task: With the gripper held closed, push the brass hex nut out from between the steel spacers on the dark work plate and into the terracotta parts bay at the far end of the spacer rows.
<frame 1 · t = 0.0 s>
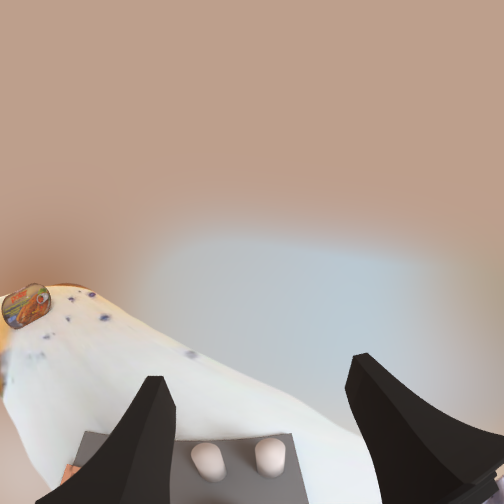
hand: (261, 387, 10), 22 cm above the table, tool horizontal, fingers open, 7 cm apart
tin: (31, 320, 52), on the table
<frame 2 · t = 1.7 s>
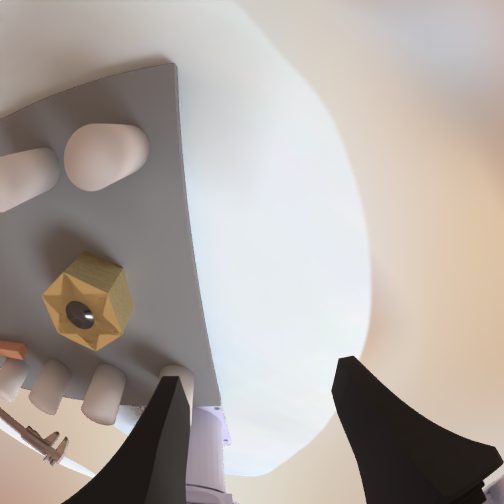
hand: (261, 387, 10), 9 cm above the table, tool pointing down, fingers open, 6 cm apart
brass nut: (96, 289, 17), point 1 cm above the table, touching work plate
work plate: (41, 285, 17), on the table
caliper: (15, 409, 25), on the table
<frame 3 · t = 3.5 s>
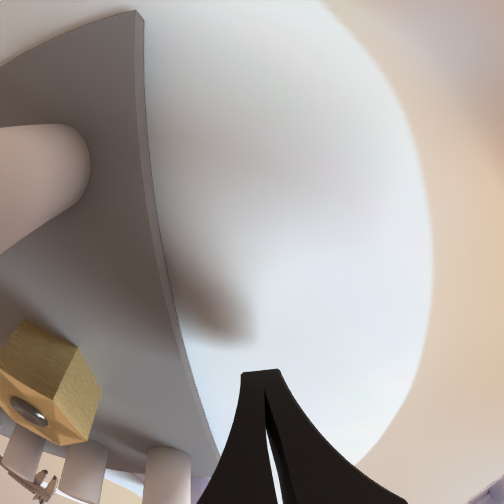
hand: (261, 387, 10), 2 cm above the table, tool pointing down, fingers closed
brass nut: (50, 366, 10), point 1 cm above the table, touching work plate
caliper: (0, 444, 19), on the table
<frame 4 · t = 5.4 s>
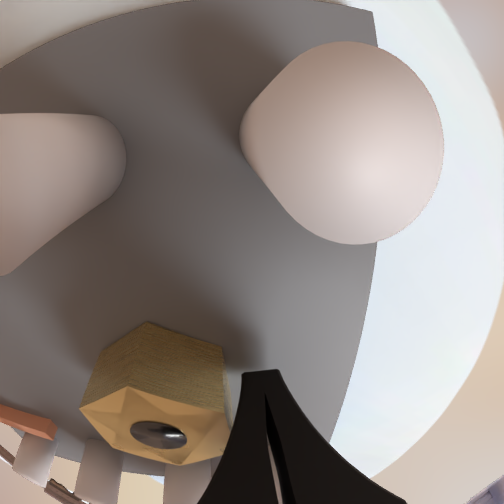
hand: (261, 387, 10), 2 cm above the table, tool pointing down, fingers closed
brass nut: (166, 375, 10), point 1 cm above the table, touching gripper
work plate: (76, 355, 11), on the table
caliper: (32, 458, 19), on the table
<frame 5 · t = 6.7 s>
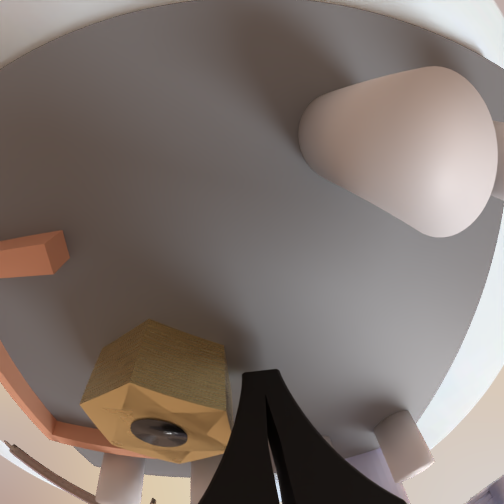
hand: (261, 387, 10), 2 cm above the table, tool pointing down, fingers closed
brass nut: (167, 373, 10), point 1 cm above the table, touching gripper, work plate
work plate: (229, 354, 12), on the table
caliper: (75, 472, 20), on the table
parts bay: (63, 354, 11), resting on work plate
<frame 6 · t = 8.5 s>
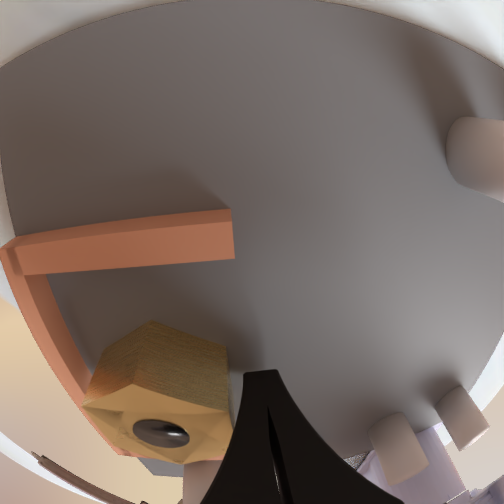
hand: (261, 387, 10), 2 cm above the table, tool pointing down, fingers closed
brass nut: (169, 374, 10), point 1 cm above the table, touching gripper, work plate
work plate: (353, 337, 12), on the table
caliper: (113, 481, 20), on the table
parts bay: (163, 357, 11), resting on work plate
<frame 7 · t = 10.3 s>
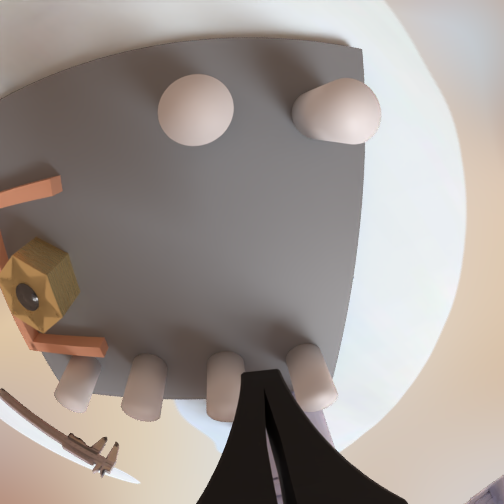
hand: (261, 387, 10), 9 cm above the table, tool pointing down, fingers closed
brass nut: (47, 274, 16), point 1 cm above the table, touching work plate
work plate: (153, 261, 17), on the table
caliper: (51, 414, 25), on the table
parts bay: (50, 268, 17), resting on work plate
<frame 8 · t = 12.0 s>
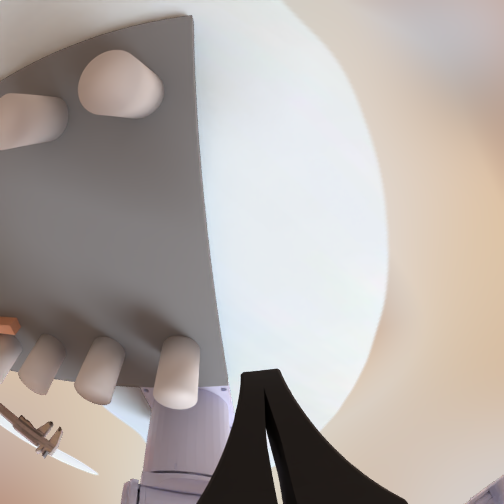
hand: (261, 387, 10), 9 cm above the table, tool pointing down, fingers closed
work plate: (38, 249, 16), on the table
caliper: (8, 398, 24), on the table
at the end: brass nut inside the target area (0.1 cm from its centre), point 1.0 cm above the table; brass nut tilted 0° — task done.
